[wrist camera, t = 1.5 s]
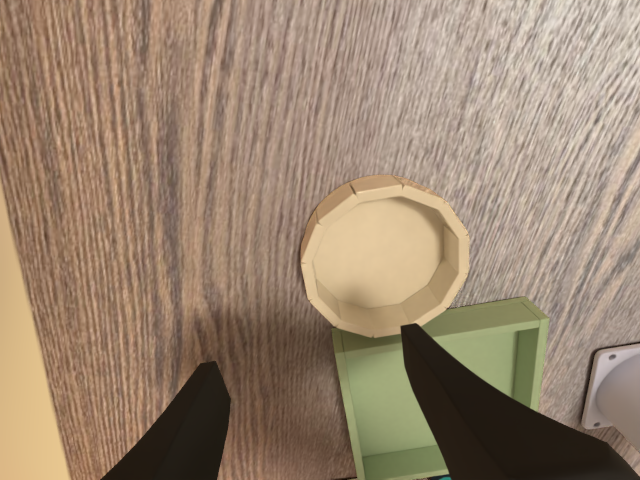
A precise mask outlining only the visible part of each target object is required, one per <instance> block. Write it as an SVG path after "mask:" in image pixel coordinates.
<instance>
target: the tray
mask: <svg viewBox="0 0 640 480" xmlns="http://www.w3.org/2000/svg"><path fill="white" fill-rule="evenodd" d="M549 320H550V319H549V317H547V316H546V315H545V314H544V313H543V312H542V311H541V310H540V309H539V308H538V307H536V306H535V305H534V304H533V303H532V302H531V301H529V299H528V298H526V297H519V298H513V299H507V300H501V301H495V302H489V303H482V304H476V305H470V306H464V307H458V308H452V309H446V310H445V311H444V312H442V313H441V314H439V315H438V316H436V317H435V318H433V319H432V320H430V321H429V322H427V323H426V324H424V325H422V326H421V328H422V329H423V330H425V331H426V332H427V333H428V334H429V335H430V336H431V337H432V338H433V339H434V340H435V341H436V342H437V343H438V344H439V345H440V346H442V347H443V348H444V349H445V350H446V351H447V352H448V353H450V354H451V355H452V356H453V357H454V358H456V359H457V360H458V361H459V362H460V363H462V364H463V365H464V366H465V367H467V368H468V369H469V370H471V371H472V372H473V373H475V374H476V375H477V376H479V377H480V378H482V379H483V380H484V381H486V382H487V383H489V384H490V385H492V386H493V387H495V388H496V389H498V390H500V391H501V392H503V393H504V394H506V395H508V396H509V397H511V398H513V399H514V400H516V401H518V402H520V403H522V404H524V405H525V406H527V407H529V408H531V409H533V410H535V411H537V412H538V407H539V399H540V391H541V383H542V375H543V367H544V359H545V351H546V343H547V335H548V327H549ZM331 331H332V338H333V346H334V353H335V359H336V365H337V370H338V375H339V381H340V386H341V392H342V397H343V403H344V408H345V414H346V419H347V425H348V430H349V436H350V441H351V447H352V452H353V458H354V463H355V469H356V474H357V479H358V480H414V479H420V478H426V477H433V476H439V475H445V474H449V472H448V469H447V467H446V464H445V461H444V459H443V456H442V454H441V452H440V449H439V447H438V445H437V443H436V440H435V438H434V436H433V434H432V432H431V430H430V428H429V425H428V423H427V421H426V419H425V417H424V415H423V413H422V410H421V408H420V406H419V404H418V402H417V400H416V397H415V395H414V393H413V391H412V388H411V385H410V382H409V379H408V376H407V373H406V370H405V367H404V358H403V348H402V338H401V334H396V335H390V336H383V337H377V338H374V337H373V336H372V338H370V337H367V336H363V335H360V334H356V333H353V332H349V331H345V330H342V329H338V328H332V329H331Z"/></svg>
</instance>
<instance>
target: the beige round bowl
mask: <svg viewBox="0 0 640 480" xmlns="http://www.w3.org/2000/svg"><path fill="white" fill-rule="evenodd" d="M301 268H302V273H303V278H304V283H305V288H306V293H307V297H308V300H309V302H310V303H311V304H312V305H313V306H314V307H315V308H316V309H317V310H318V311H319V312H320V313H321V314H322V315H323V316H324V317H325V318H326V319H327V320H328V321H329V322H330V323H331V324H332V325H333V326H334V327H335V326H336V328H338V329H342V330H345V331H349V332H353V333H356V334H360V335H363V336H367V337H370V338H372V336H373V337H374V338H377V337H383V336H390V335H396V334H401V328H400V326H402V325H407V324H413V323H417V324H418V325H420V326H422V325H424V324H426V323H427V322H429V321H430V320H432V319H433V318H435V317H436V316H438V315H439V314H441V313H442V312H444V311H445V310H446V307H447V308H449V306H450V304H451V303H452V301H453V300H454V298H455V296H456V295H457V293H458V291H459V290H460V288H461V286H462V285H463V283H464V281H465V280H466V278H467V276H468V275H467V273H469V235H468V231H467V230H466V228H465V227H464V225H463V224H462V223H461V221H460V220H459V218H458V217H457V215H456V214H455V212H454V211H453V209H452V208H451V207H450V205H449V204H448V202H447V201H445V200H444V199H443V198H442V197H440V196H439V195H438V194H436V193H435V192H434V191H432V190H431V189H429V188H427V187H424V186H421V185H419V184H418V183H416V182H413V181H411V180H409V179H406V178H403V177H399V176H395V175H394V176H393V175H372V176H366V177H362V178H358V179H355V180H353V181H350V182H348V183H346V184H344V185H342V186H340V187H339V188H337V189H336V190H334V191H333V192H331V193H330V194H329V195H328V196H327V197H326V198H325V199H324V200H323V201H322V202H321V203H320V204H319V205H318V207H317V208H316V209H315V211H314V212H313V214H312V216H311V218H310V220H309V222H308V224H307V227H306V230H305V233H304V238H303V241H302V243H301Z"/></svg>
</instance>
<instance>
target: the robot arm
mask: <svg viewBox="0 0 640 480" xmlns="http://www.w3.org/2000/svg"><path fill="white" fill-rule="evenodd" d="M400 328H401V338H402V348H403V358H404V367H405V370H406V373H407V376H408V379H409V382H410V385H411V388H412V391H413V393H414V395H415V397H416V400H417V402H418V404H419V406H420V408H421V410H422V413H423V415H424V417H425V419H426V421H427V423H428V425H429V428H430V430H431V432H432V434H433V436H434V438H435V440H436V443H437V445H438V447H439V449H440V452H441V454H442V456H443V459H444V461H445V464H446V467H447V469H448V472H449V475H450V478H451V480H640V477H639V476H638V474H637V473H636V472H635V471H634V470H633V469H632V468H631V467H630V465H629V464H628V463H627V462H626V461H625V460H624V459H623V458H622V457H621V456H620V455H619V454H618V453H617V452H616V451H615V450H614V449H613V448H612V447H611V446H610V445H609V444H608V443H607V442H604V441H602V440H599V439H597V438H595V437H592V436H590V435H587V434H585V433H582V432H580V431H577V430H575V429H573V428H570V427H568V426H566V425H563V424H561V423H559V422H557V421H555V420H553V419H551V418H549V417H546V416H544V415H542V414H540V413H538V412H537V411H535V410H533V409H531V408H529V407H527V406H525V405H524V404H522V403H520V402H518V401H516V400H514V399H513V398H511V397H509V396H508V395H506V394H504V393H503V392H501V391H500V390H498V389H496V388H495V387H493V386H492V385H490V384H489V383H487V382H486V381H484V380H483V379H482V378H480V377H479V376H477V375H476V374H475V373H473V372H472V371H471V370H469V369H468V368H467V367H465V366H464V365H463V364H462V363H460V362H459V361H458V360H457V359H456V358H454V357H453V356H452V355H451V354H450V353H448V352H447V351H446V350H445V349H444V348H443V347H442V346H440V345H439V344H438V343H437V342H436V341H435V340H434V339H433V338H432V337H431V336H430V335H429V334H428V333H427V332H426V331H425V330H423V329H422V328H421V326H420V325H418V324H417V323H413V324H407V325H402V326H400ZM230 401H231V398H230V396H229V393H228V391H227V388H226V386H225V383H224V380H223V378H222V375H221V373H220V370H219V368H218V365H217V363H216V361H212V362H207V363H201V364H200V365H199V366H198V367H197V369H196V370H195V371H194V373H193V374H192V375H191V377H190V378H189V379H188V381H187V382H186V383H185V385H184V386H183V387H182V389H181V390H180V391H179V393H178V394H177V395H176V397H175V398H174V399H173V401H172V402H171V403H170V404H169V406H168V407H167V408H166V410H165V411H164V412H163V413H162V414H161V416H160V417H159V418H158V419H157V420H156V422H155V423H154V424H153V425H152V426H151V428H150V429H149V430H148V431H147V432H146V434H145V435H144V436H143V437H142V438H141V439H140V440H139V441H138V443H137V444H136V445H135V446H134V447H133V448H132V449H131V450H130V451H129V452H128V453H127V454H126V455H125V456H124V457H123V458H122V459H121V460H120V461H119V462H118V463H117V464H116V465H115V466H114V467H113V468H112V469H111V470H110V471H109V472H108V473H107V474H106V475H105V476H104V477H103V478H102V479H100V480H217V477H218V472H219V468H220V463H221V458H222V454H223V449H224V444H225V440H226V435H227V430H228V424H229V414H230ZM581 424H582V426H583V427H584V428H585V429H587V430H590V429H597V428H603V427H609V426H614V427H615V428H616V429H617V430H618V431H619V432H620V433H621V434H622V435H623V436H624V437H625V438H626V439H627V440H628V441H629V442H630V444H631V445H632V446H633V447H634V448H635V449H636V450H637V451H638V452H639V453H640V344H633V345H627V346H621V347H615V348H609V349H603V350H599V351H598V352H597V353H596V354H595V357H594V362H593V367H592V372H591V377H590V382H589V387H588V392H587V397H586V402H585V407H584V412H583V417H582V422H581Z"/></svg>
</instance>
